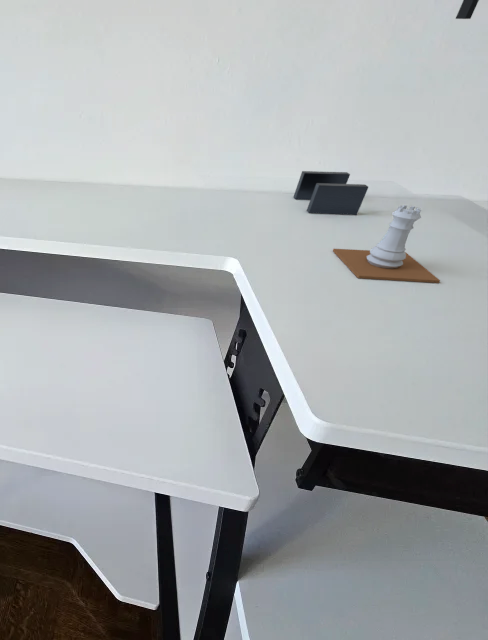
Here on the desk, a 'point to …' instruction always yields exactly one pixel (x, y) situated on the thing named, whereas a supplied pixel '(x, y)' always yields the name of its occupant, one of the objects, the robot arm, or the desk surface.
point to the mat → (365, 270)
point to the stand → (330, 192)
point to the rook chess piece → (394, 239)
